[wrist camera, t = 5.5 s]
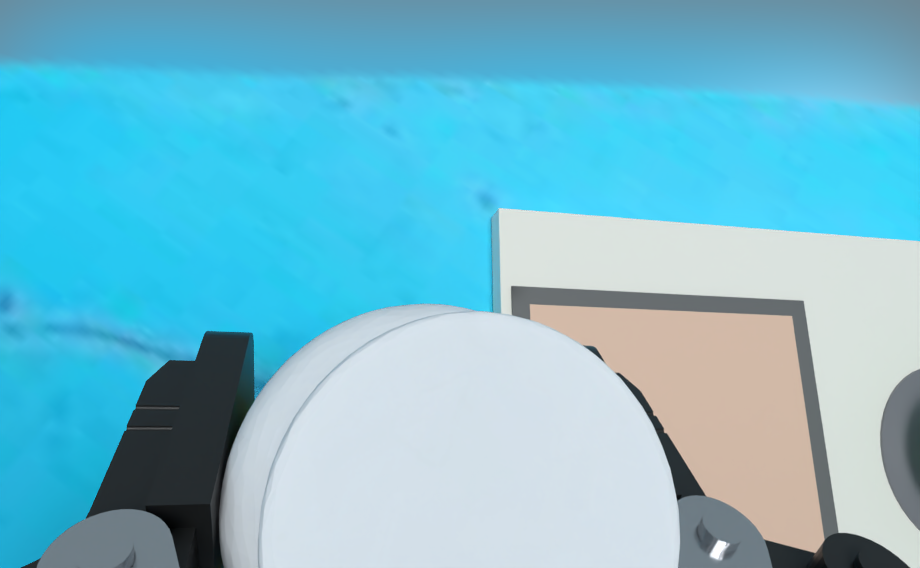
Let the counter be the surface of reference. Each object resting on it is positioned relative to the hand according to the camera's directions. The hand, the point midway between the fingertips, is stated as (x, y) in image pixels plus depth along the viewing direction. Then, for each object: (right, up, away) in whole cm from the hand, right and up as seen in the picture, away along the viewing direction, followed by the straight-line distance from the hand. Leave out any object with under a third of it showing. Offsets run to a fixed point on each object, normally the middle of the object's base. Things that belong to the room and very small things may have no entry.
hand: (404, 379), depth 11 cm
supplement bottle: (-1, -3, +4) cm, 5 cm away
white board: (+11, -4, +7) cm, 13 cm away
